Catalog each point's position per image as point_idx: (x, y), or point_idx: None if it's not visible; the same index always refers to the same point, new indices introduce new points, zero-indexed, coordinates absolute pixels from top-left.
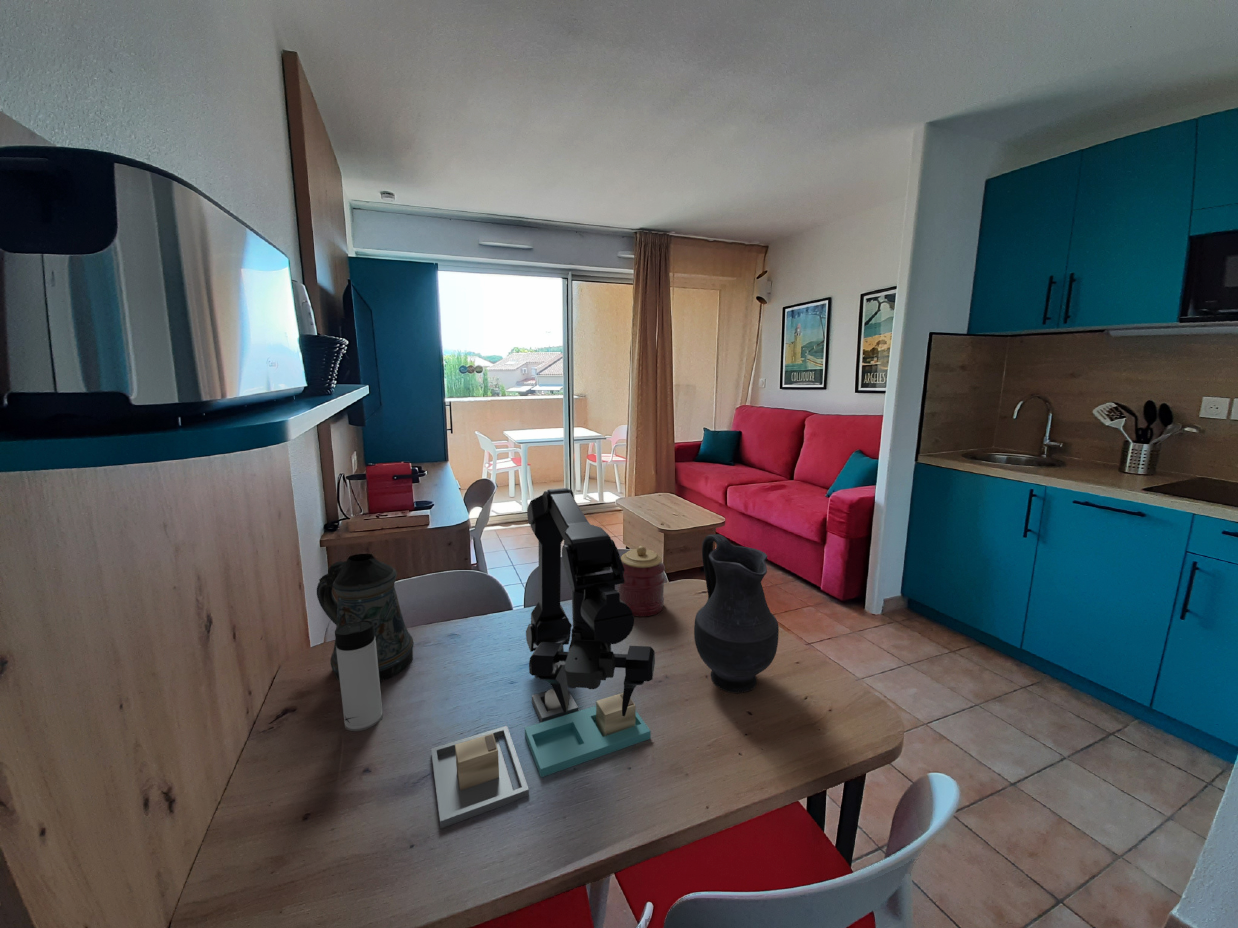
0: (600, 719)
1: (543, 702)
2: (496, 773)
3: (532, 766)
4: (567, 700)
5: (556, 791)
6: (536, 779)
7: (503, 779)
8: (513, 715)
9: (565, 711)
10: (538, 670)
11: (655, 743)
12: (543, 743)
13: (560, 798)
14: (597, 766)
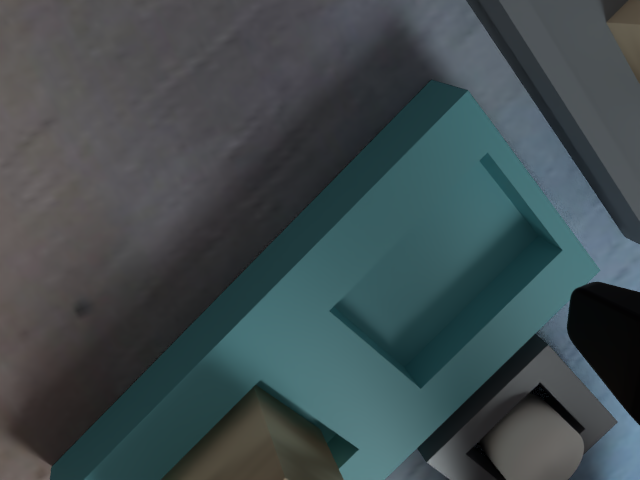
0: (306, 451)
1: None
2: (631, 15)
3: None
4: (633, 387)
5: (350, 60)
6: None
7: (586, 16)
8: None
9: (588, 289)
10: None
11: (27, 475)
12: (493, 249)
13: (319, 30)
14: (230, 254)
